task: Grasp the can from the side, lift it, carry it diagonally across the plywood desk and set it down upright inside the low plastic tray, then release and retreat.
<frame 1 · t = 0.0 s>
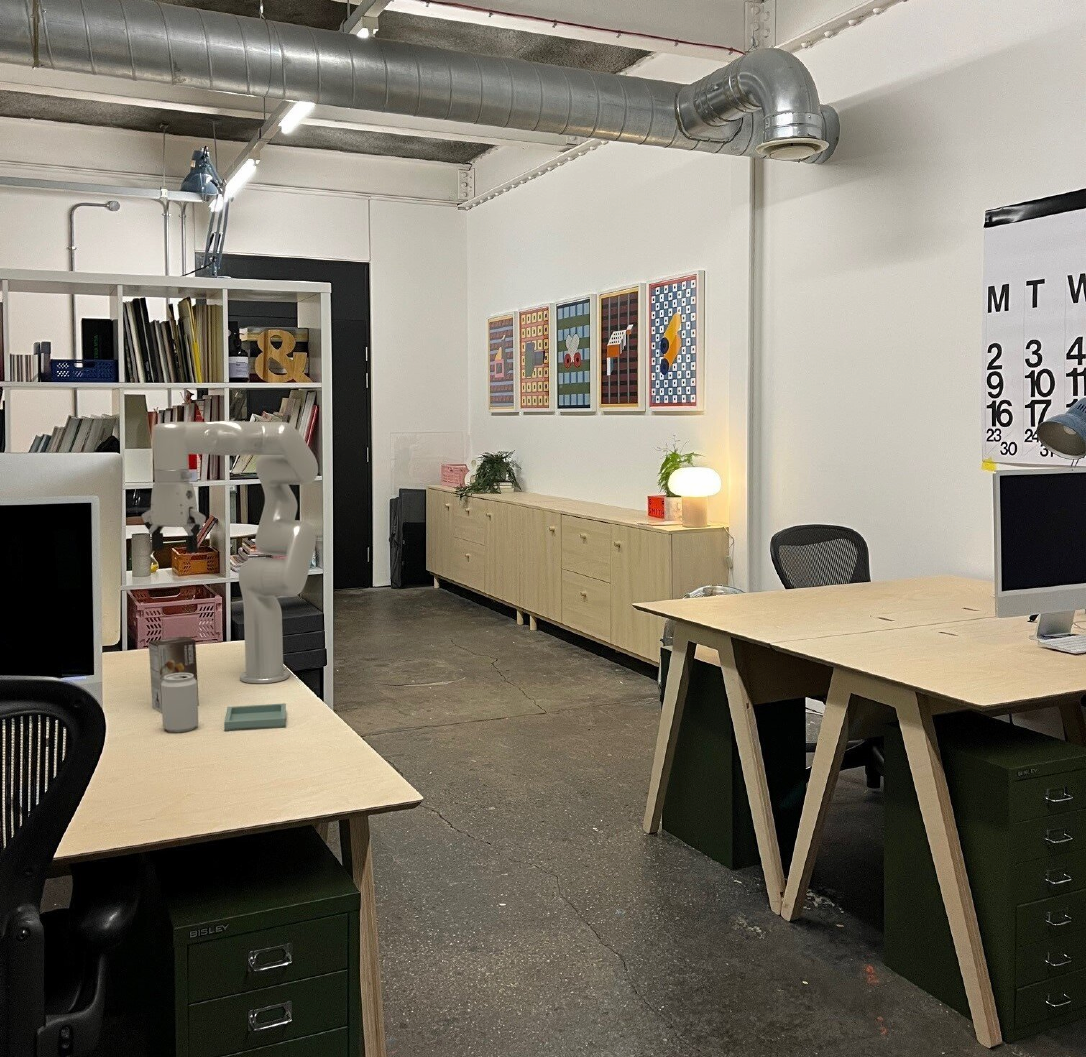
hand: (174, 551, 253), 37 cm above the table, tool pointing down, fingers open, 9 cm apart
coffee box: (175, 707, 260), on the table
can: (180, 729, 242), on the table
tray: (256, 721, 248), on the table
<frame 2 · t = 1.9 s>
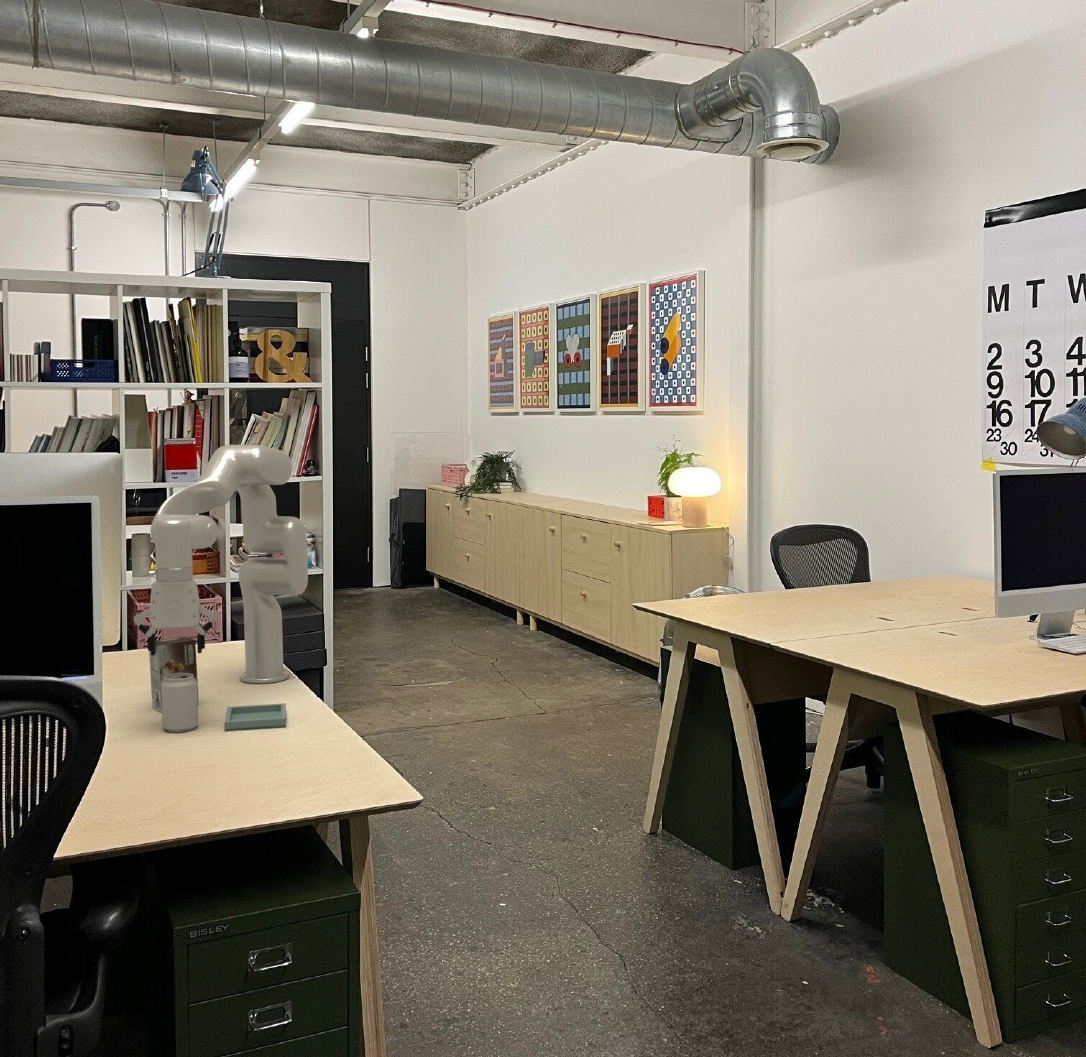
hand: (176, 653, 240), 17 cm above the table, tool pointing down, fingers open, 9 cm apart
nothing on the table moved.
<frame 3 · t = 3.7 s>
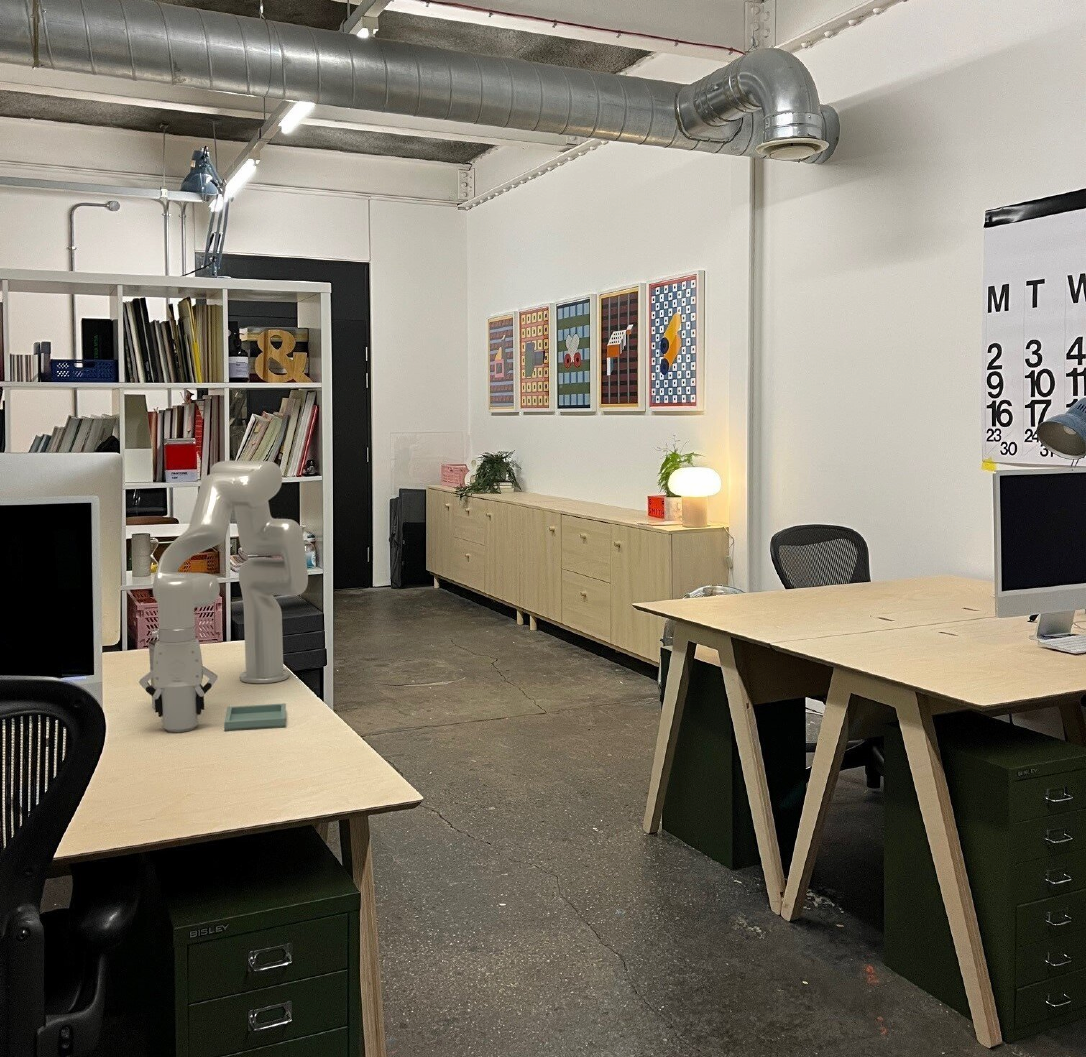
hand: (180, 713, 242), 3 cm above the table, tool pointing down, fingers closed on can, 7 cm apart
can: (180, 729, 242), on the table, touching gripper
everything else where it was.
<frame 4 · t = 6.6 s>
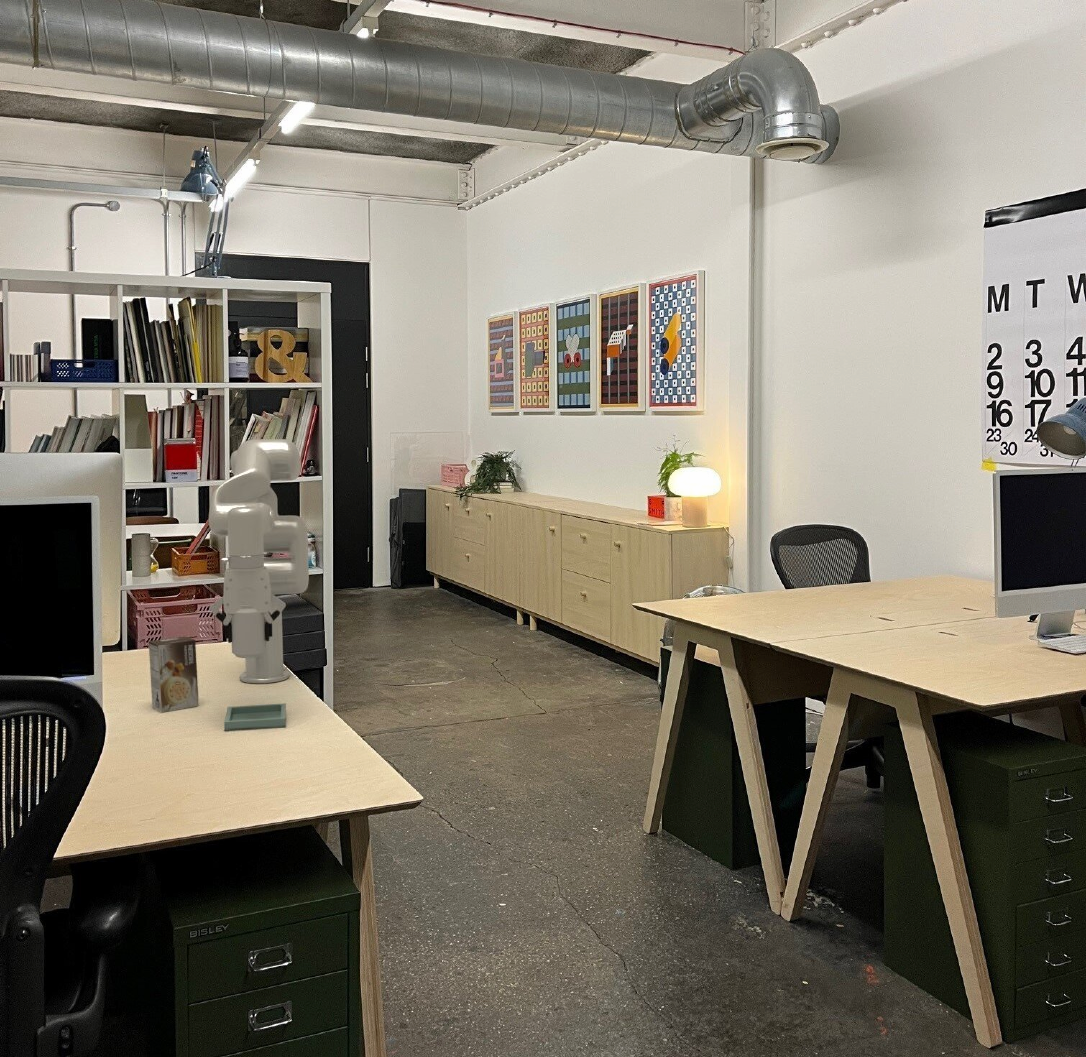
hand: (249, 640, 246), 19 cm above the table, tool pointing down, fingers closed on can, 7 cm apart
can: (249, 655, 246), point 15 cm above the table, touching gripper
everything else where it was.
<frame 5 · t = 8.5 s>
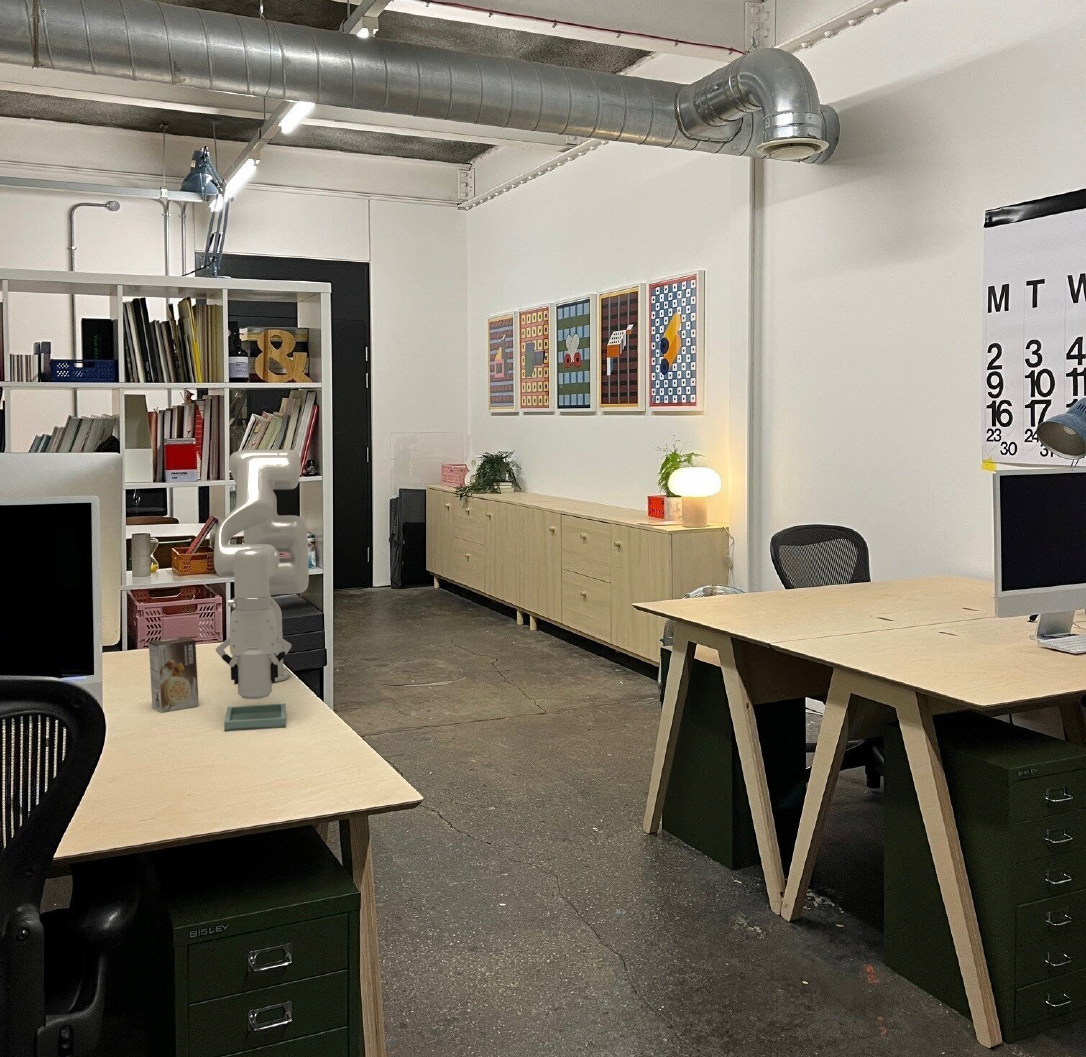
hand: (254, 681, 247), 9 cm above the table, tool pointing down, fingers closed on can, 7 cm apart
can: (255, 696, 247), point 6 cm above the table, touching gripper
everything else where it was.
when the fingers open (5 cm above the table, at t = 9.9 s): can drops 1 cm, resting on tray.
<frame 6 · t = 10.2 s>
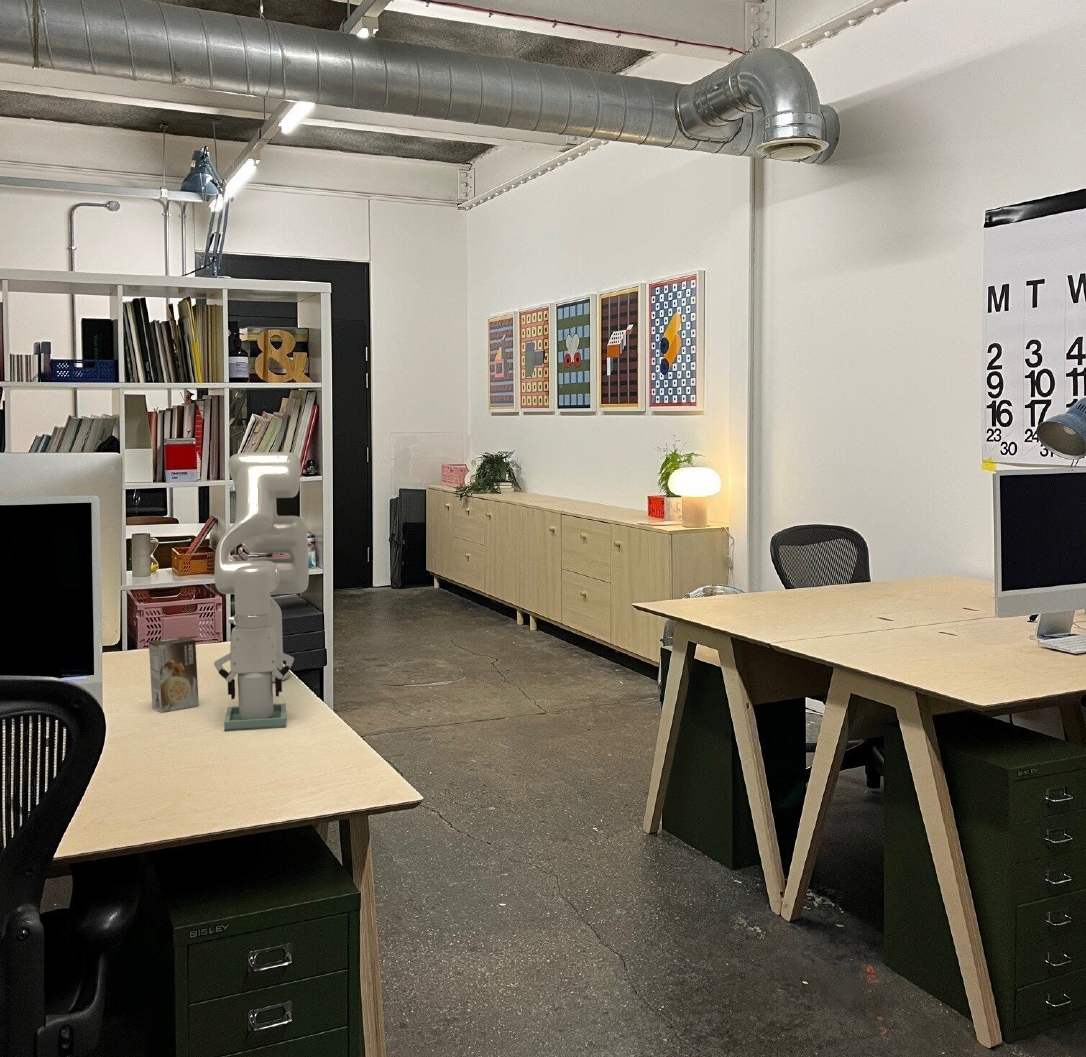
hand: (255, 696, 247), 6 cm above the table, tool pointing down, fingers open, 9 cm apart
can: (256, 719, 248), resting on tray
everything else where it was.
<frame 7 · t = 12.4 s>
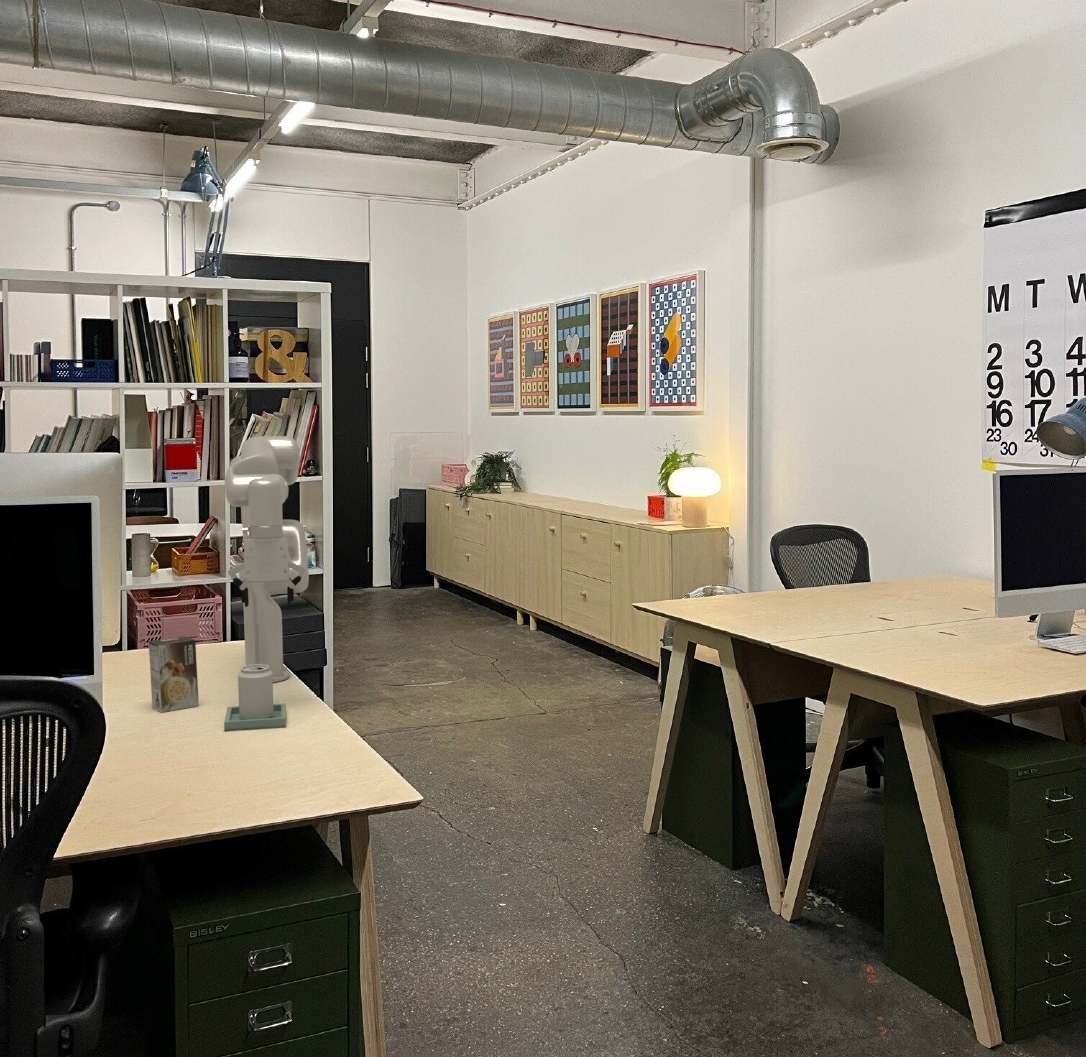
hand: (268, 604, 256), 25 cm above the table, tool pointing down, fingers open, 9 cm apart
nothing on the table moved.
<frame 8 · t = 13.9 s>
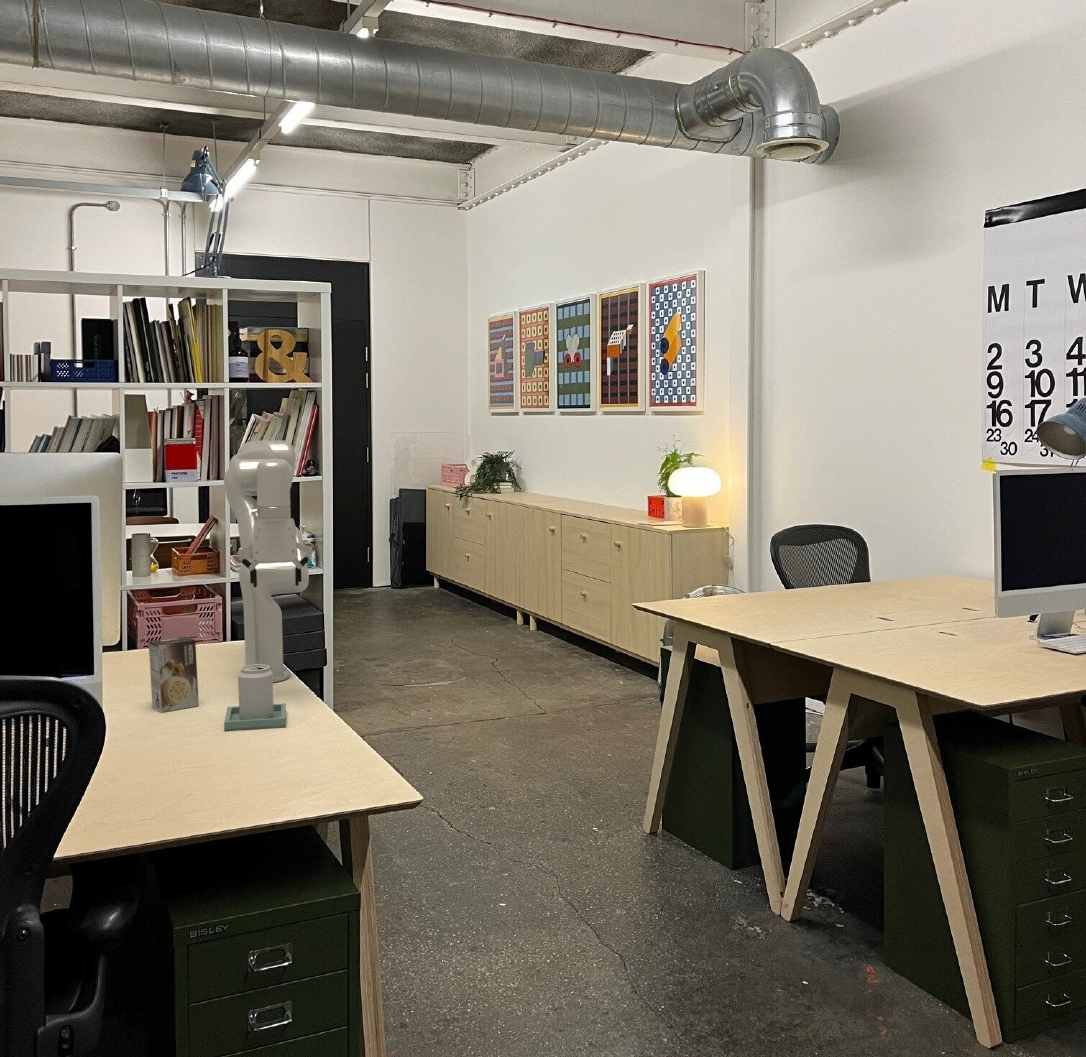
hand: (276, 585, 260), 28 cm above the table, tool pointing down, fingers open, 9 cm apart
nothing on the table moved.
at the end: can 0.2 cm off-centre on the tray, point 0.3 cm above the tray's base; can tilted 0°; the gripper is holding nothing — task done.
